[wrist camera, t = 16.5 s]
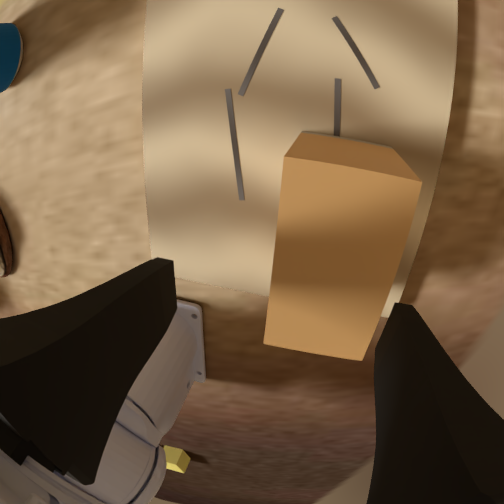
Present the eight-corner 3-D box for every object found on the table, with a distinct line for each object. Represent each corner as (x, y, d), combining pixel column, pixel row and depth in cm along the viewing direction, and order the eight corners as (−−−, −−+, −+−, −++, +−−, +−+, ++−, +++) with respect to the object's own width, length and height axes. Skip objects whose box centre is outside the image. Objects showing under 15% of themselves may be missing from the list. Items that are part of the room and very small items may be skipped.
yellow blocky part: (35, 368, 43) (24, 380, 40) (185, 406, 33) (174, 428, 30) (118, 460, 57) (112, 471, 54) (248, 494, 47) (244, 508, 44)
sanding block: (359, 283, 18) (361, 360, 13) (285, 270, 19) (263, 343, 13) (391, 146, 14) (422, 181, 9) (302, 130, 14) (284, 156, 9)
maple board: (390, 303, 20) (392, 318, 18) (163, 261, 22) (153, 272, 21) (446, -38, 9) (455, -46, 7) (167, -55, 11) (154, -62, 10)
